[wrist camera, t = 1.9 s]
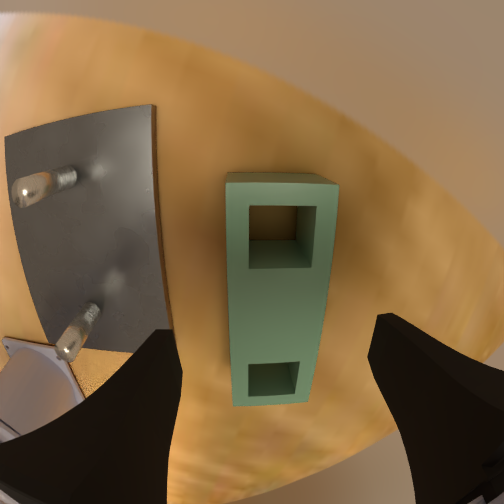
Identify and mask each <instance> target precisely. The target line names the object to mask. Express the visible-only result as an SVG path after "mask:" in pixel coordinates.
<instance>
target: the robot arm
mask: <svg viewBox="0 0 504 504" xmlns="http://www.w3.org/2000/svg"><path fill="white" fill-rule="evenodd" d="M2 342H3V345H4V347H5V349H6V351H7V353H8V355H9V357H10V360H9V361H8V362H7V364H6V365H5V366H4V368H3V369H2V371H1V372H0V504H167V475H168V459H169V451H170V445H171V440H172V435H173V430H174V426H175V421H176V416H177V411H178V407H179V402H180V397H181V387H182V374H183V371H182V367H181V363H180V359H179V355H178V351H177V347H176V342H175V338H174V333H173V329H156V330H155V331H154V332H153V333H152V334H151V335H150V336H149V337H148V338H147V339H146V340H145V341H144V343H143V344H142V345H141V346H140V347H139V348H138V349H137V350H136V351H135V353H134V354H133V355H132V356H131V357H130V358H129V359H128V360H127V361H126V362H125V363H124V364H123V365H122V366H121V367H120V369H118V370H117V371H116V372H115V373H114V374H113V375H112V376H111V377H110V378H109V379H108V380H107V381H106V382H105V383H104V384H103V385H102V386H101V387H99V388H98V389H97V390H96V391H95V392H94V393H92V394H91V395H90V396H88V397H87V398H86V399H85V398H84V396H83V394H82V392H81V390H80V388H79V386H78V384H77V382H76V380H75V378H74V376H73V374H72V372H71V370H70V367H69V365H68V363H67V362H66V361H64V360H62V359H61V358H59V357H58V355H57V354H56V352H55V350H54V346H48V345H42V344H36V343H31V342H26V341H21V340H16V339H12V338H7V337H4V338H3V339H2ZM367 358H368V361H369V364H370V367H371V370H372V373H373V376H374V379H375V381H376V383H377V385H378V387H379V389H380V391H381V393H382V395H383V397H384V399H385V401H386V403H387V405H388V407H389V410H390V412H391V414H392V416H393V418H394V420H395V422H396V424H397V427H398V429H399V431H400V434H401V437H402V440H403V444H404V447H405V450H406V454H407V457H408V461H409V466H410V469H411V475H412V480H413V485H414V491H415V500H416V504H504V371H502V370H499V369H496V368H493V367H490V366H488V365H485V364H483V363H480V362H478V361H476V360H474V359H471V358H469V357H467V356H465V355H463V354H461V353H459V352H457V351H456V350H454V349H452V348H450V347H448V346H446V345H445V344H443V343H441V342H440V341H438V340H436V339H435V338H433V337H431V336H430V335H428V334H427V333H425V332H423V331H422V330H420V329H419V328H417V327H415V326H414V325H412V324H411V323H409V322H407V321H406V320H404V319H402V318H401V317H399V316H397V315H395V314H393V313H386V314H379V315H377V319H376V324H375V328H374V332H373V337H372V341H371V345H370V349H369V352H368V356H367Z"/></svg>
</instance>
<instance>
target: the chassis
mask: <svg viewBox="0 0 504 504" xmlns="http://www.w3.org/2000/svg"><path fill="white" fill-rule="evenodd" d="M5 161H6V174H7V184H8V193H9V200H10V207H11V214H12V220H13V225H14V230H15V235H16V240H17V245H18V249H19V253H20V258H21V262H22V265H23V269H24V273H25V276H26V280H27V283H28V287H29V290H30V293H31V296H32V299H33V302H34V305H35V308H36V311H37V314H38V317H39V319H40V322H41V325H42V327H43V330H44V332H45V335H46V337H47V340H48V342H49V343H53V344H55V346H54V350H55V352H56V354H57V355H58V357H59V358H61V359H62V360H64V361H66V362H73V361H74V359H75V358H76V356H77V354H78V352H79V351H80V349H81V348H88V349H97V350H107V351H117V352H129V353H135V351H136V350H137V349H138V348H139V347H140V346H141V345H142V344H143V343H144V341H145V340H146V339H147V338H148V337H149V336H150V335H151V334H152V333H153V332H154V331H155V330H156V329H173V333H174V328H173V322H172V316H171V309H170V302H169V295H168V288H167V280H166V272H165V264H164V255H163V245H162V234H161V223H160V210H159V196H158V178H157V152H156V106H154V105H142V106H134V107H127V108H121V109H114V110H108V111H103V112H97V113H92V114H87V115H82V116H77V117H73V118H69V119H64V120H60V121H56V122H52V123H48V124H45V125H41V126H37V127H34V128H31V129H27V130H24V131H21V132H18V133H15V134H12V135H9V136H6V137H5ZM174 338H175V334H174ZM175 342H176V340H175ZM176 347H177V346H176Z"/></svg>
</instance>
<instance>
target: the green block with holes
mask: <svg viewBox="0 0 504 504" xmlns="http://www.w3.org/2000/svg"><path fill="white" fill-rule="evenodd" d="M225 184H226V247H227V284H228V314H229V339H230V361H231V381H232V399H233V406H260V405H277V404H290V403H301V402H308V399H309V394H310V390H311V385H312V380H313V376H314V371H315V366H316V361H317V355H318V350H319V344H320V339H321V333H322V327H323V321H324V315H325V309H326V302H327V295H328V288H329V281H330V273H331V266H332V257H333V249H334V240H335V230H336V220H337V208H338V196H339V184H336V183H334V182H332V181H330V180H328V179H326V178H324V177H321V176H319V175H317V174H305V173H265V172H230V173H227V178H226V183H225ZM249 205H285V206H297V223H296V240H249Z"/></svg>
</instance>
